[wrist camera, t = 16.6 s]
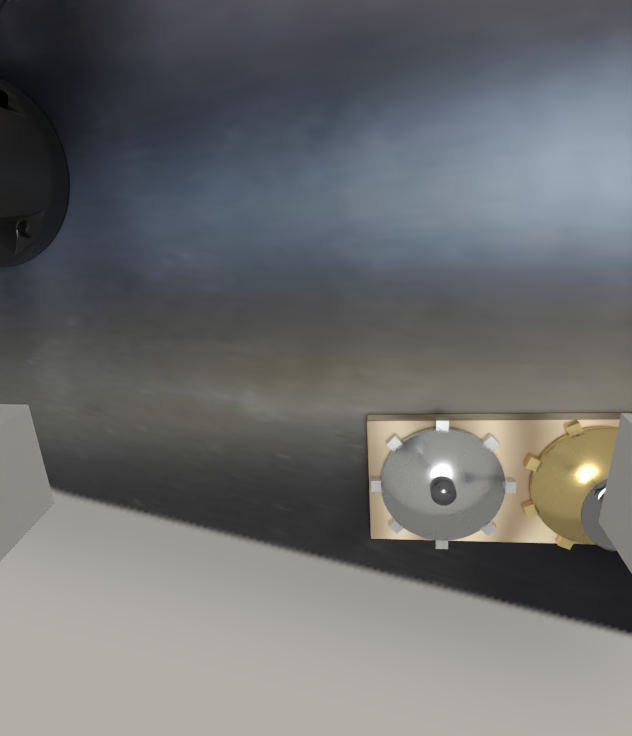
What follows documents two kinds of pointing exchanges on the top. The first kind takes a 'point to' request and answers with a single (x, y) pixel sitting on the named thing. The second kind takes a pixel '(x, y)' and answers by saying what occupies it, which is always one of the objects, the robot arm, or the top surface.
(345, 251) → the top surface
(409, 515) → the gear board
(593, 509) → the wine glass
